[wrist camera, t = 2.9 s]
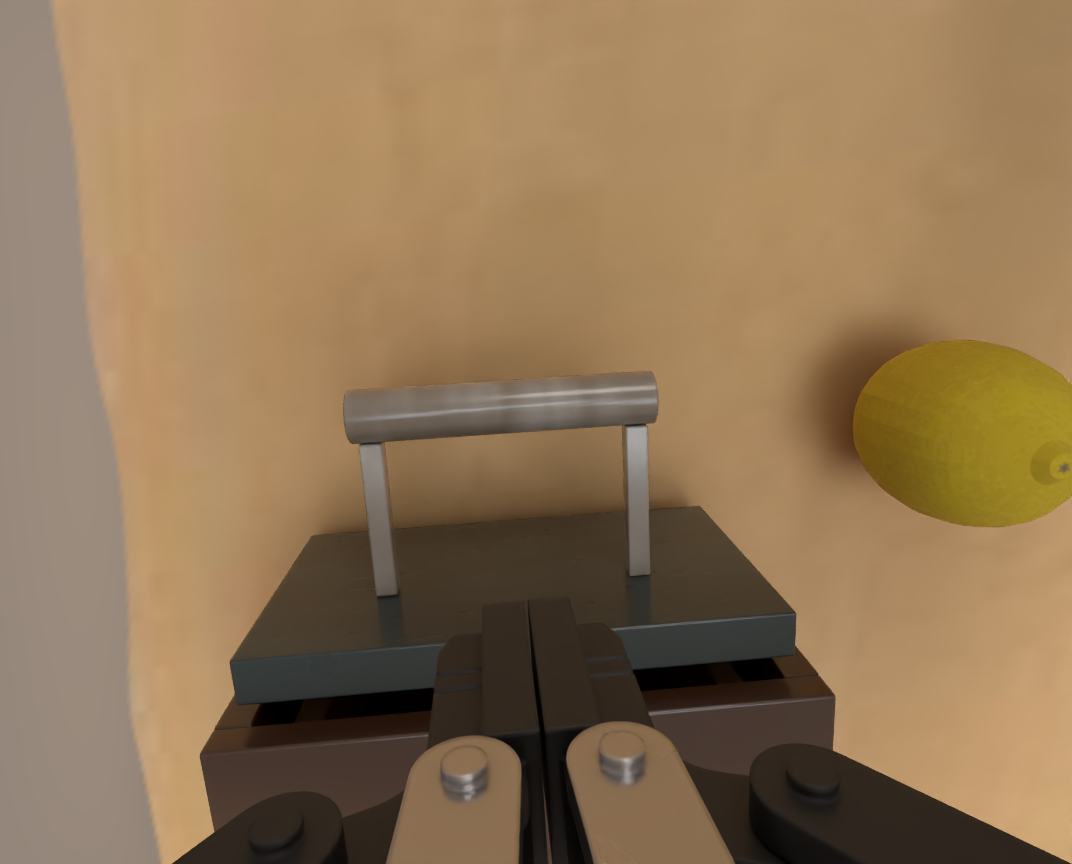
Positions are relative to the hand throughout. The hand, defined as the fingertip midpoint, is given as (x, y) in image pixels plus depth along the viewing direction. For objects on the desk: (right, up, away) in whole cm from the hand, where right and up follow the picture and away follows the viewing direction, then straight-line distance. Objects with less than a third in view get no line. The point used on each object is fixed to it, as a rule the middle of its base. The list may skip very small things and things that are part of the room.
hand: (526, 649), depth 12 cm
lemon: (+13, +5, +13) cm, 19 cm away
